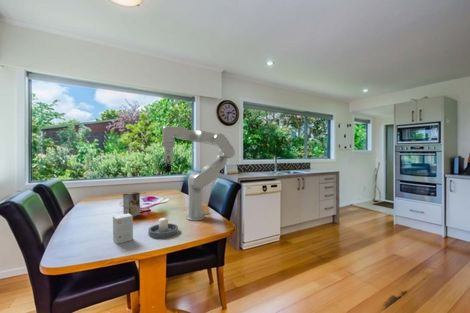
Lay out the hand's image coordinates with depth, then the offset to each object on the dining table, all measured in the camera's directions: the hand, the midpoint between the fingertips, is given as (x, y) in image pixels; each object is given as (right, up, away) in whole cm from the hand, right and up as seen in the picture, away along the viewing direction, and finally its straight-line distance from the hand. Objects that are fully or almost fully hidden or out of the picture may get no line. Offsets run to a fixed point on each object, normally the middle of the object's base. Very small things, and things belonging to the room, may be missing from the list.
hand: (168, 171), depth 148 cm
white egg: (+3, -33, -19) cm, 38 cm away
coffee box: (-31, -33, +14) cm, 47 cm away
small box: (-15, -34, -29) cm, 48 cm away
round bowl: (+3, -34, -19) cm, 39 cm away
